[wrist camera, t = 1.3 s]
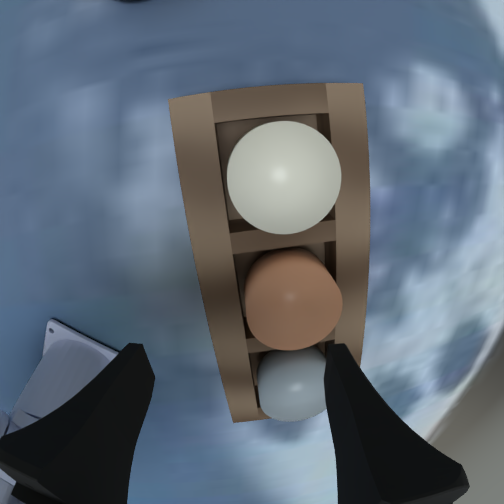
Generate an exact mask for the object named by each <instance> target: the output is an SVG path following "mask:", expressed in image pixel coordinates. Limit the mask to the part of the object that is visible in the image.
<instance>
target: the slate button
mask: <svg viewBox="0 0 504 504" xmlns="http://www.w3.org/2000/svg"><path fill="white" fill-rule="evenodd" d="M325 365H326V357H325V355H324V353H323V352H322V351H321V350H320V349H318V348H317V347H315V346H313V345H312V346H309V347H306V348H303V349H299V350H278V349H275V350H272V351H271V352H269V353H268V354H267V355H265V356H264V358H263V359H262V360H261V361H260V363H259V365H258V367H257V372H256V375H257V384H258V391H259V399H260V406H261V408H262V410H263V412H264V413H265V414H266V415H268V416H269V417H271V418H273V419H276V420H280V421H300V420H305V419H308V418H311V417H313V416H316V415H318V414H319V413H321V412H323V411H324V410H325V409H327V408H326V402H325V391H324V372H325Z"/></svg>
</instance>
